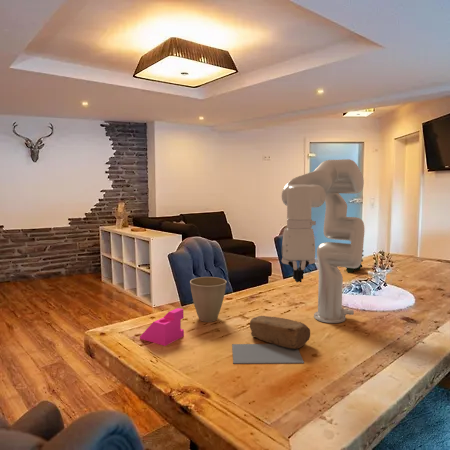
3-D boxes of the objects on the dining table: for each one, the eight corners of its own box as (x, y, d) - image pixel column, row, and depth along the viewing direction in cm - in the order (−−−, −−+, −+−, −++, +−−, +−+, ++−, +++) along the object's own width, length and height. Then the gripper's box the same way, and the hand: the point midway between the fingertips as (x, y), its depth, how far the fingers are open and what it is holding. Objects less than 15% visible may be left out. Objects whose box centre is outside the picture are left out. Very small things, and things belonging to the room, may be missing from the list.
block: (294, 329, 126) (247, 318, 140) (294, 352, 126) (247, 338, 140) (312, 321, 134) (266, 311, 148) (312, 343, 134) (266, 330, 148)
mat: (295, 344, 134) (295, 343, 134) (304, 363, 120) (304, 362, 120) (232, 345, 134) (232, 344, 134) (233, 363, 120) (233, 362, 120)
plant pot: (197, 327, 150) (197, 287, 148) (185, 315, 164) (185, 278, 162) (232, 322, 156) (232, 283, 154) (218, 311, 170) (218, 275, 168)
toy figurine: (352, 269, 259) (338, 272, 239) (353, 240, 258) (340, 242, 238) (366, 270, 253) (353, 274, 233) (368, 242, 253) (355, 243, 233)
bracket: (183, 336, 142) (183, 309, 141) (165, 346, 134) (164, 317, 132) (159, 329, 149) (158, 303, 148) (139, 338, 140) (139, 311, 139)
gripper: (319, 223, 127) (318, 278, 129) (273, 223, 126) (273, 278, 129) (325, 226, 119) (324, 284, 121) (277, 226, 119) (276, 284, 121)
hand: (298, 281), depth 125 cm, fingers closed
